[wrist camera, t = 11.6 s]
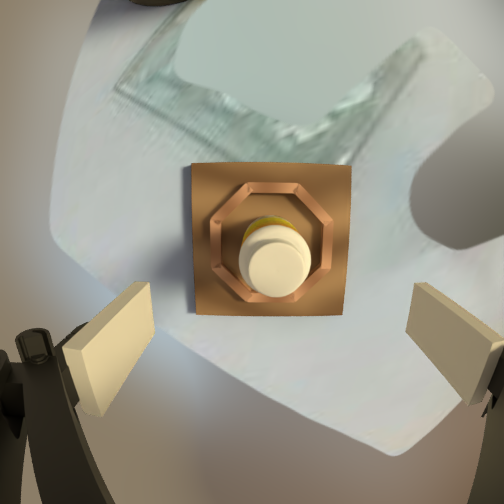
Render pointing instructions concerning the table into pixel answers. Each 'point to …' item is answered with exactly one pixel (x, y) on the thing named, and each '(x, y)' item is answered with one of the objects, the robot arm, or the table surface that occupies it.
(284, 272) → the supplement bottle
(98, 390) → the robot arm
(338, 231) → the holder board
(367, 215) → the table surface
